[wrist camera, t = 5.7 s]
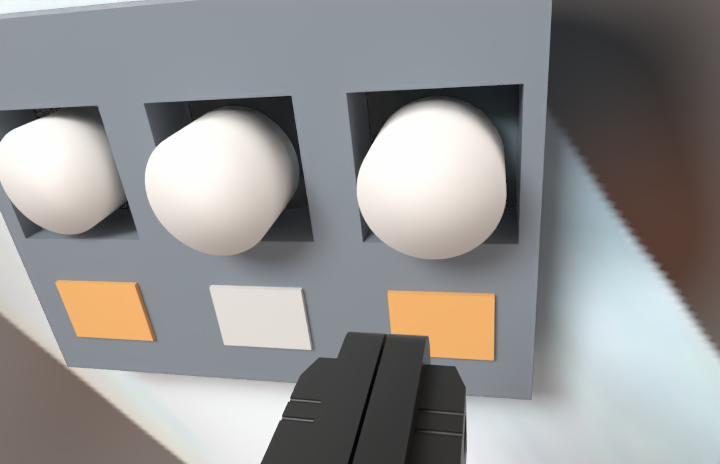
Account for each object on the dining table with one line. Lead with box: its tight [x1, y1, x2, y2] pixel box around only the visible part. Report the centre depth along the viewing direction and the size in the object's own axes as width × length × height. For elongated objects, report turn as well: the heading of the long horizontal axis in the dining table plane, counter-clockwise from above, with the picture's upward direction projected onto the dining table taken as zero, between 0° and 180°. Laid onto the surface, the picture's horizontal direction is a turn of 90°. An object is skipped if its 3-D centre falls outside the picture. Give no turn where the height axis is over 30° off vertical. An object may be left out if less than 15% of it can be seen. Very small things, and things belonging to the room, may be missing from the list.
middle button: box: [145, 106, 299, 256], centre depth 20 cm, size 5×5×3 cm
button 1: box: [0, 106, 128, 235], centre depth 23 cm, size 5×5×3 cm
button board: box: [0, 0, 552, 400], centre depth 23 cm, size 22×16×3 cm
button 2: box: [357, 96, 506, 260], centre depth 19 cm, size 5×5×3 cm
